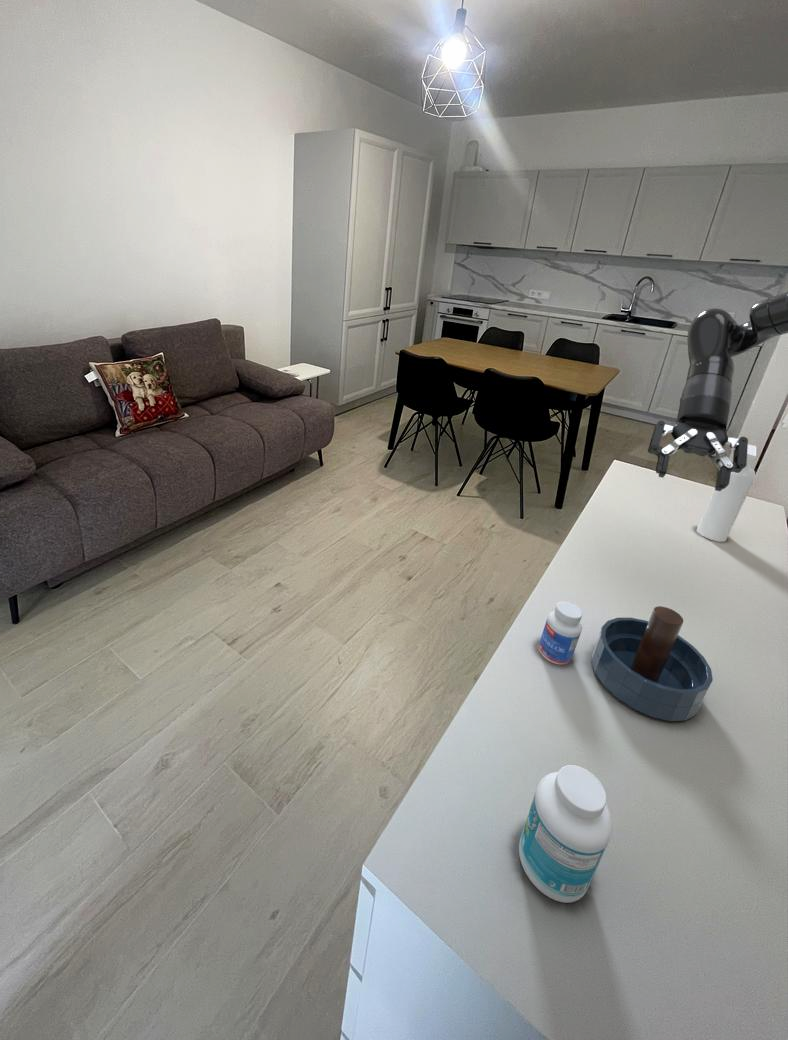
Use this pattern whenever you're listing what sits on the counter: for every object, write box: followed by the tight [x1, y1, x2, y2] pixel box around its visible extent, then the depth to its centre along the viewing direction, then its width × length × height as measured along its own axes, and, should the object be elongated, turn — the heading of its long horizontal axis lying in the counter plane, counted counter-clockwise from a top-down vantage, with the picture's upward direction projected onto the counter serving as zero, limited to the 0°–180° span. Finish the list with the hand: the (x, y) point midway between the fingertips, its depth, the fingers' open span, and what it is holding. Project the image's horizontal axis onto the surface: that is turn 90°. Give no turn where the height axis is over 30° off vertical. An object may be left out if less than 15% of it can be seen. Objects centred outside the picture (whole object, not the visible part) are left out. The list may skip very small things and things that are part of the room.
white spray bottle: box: [696, 443, 757, 543], centre depth 123 cm, size 7×12×25 cm, turn 141°
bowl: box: [591, 617, 714, 722], centre depth 80 cm, size 15×15×6 cm
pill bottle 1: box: [538, 600, 583, 666], centre depth 84 cm, size 6×5×10 cm
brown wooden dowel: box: [630, 605, 684, 683], centre depth 78 cm, size 4×4×13 cm
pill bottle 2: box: [518, 764, 613, 904], centre depth 53 cm, size 8×7×14 cm
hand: (690, 482), depth 87 cm, fingers open, 8 cm apart
